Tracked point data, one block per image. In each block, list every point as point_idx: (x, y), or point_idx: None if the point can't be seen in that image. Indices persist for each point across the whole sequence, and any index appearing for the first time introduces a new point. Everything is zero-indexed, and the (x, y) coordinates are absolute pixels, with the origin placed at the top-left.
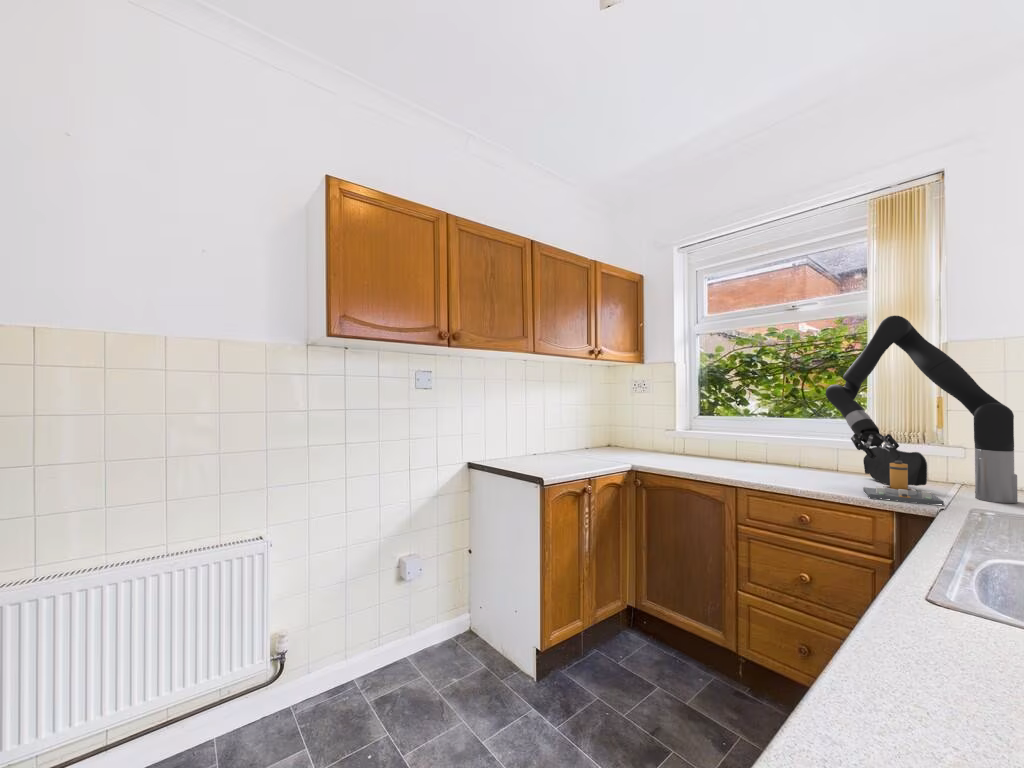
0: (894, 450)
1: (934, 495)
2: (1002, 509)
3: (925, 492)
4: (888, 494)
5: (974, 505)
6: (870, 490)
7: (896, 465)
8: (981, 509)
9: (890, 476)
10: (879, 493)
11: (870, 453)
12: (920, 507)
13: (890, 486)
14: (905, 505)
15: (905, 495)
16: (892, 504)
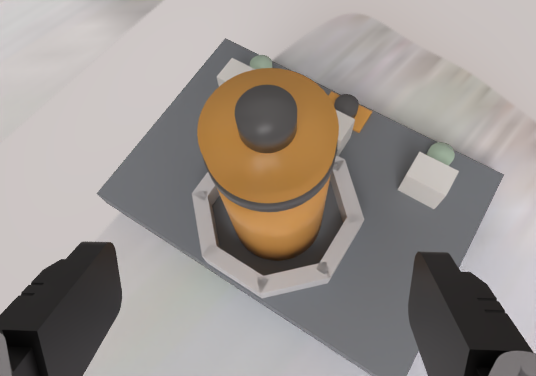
0: (57, 296)
1: (138, 146)
2: (34, 13)
3: (253, 69)
4: (392, 163)
5: (71, 66)
6: None
7: (323, 98)
8: (124, 10)
9: (326, 195)
10: (453, 157)
11: (483, 295)
12: (363, 28)
13: (320, 223)
14: (405, 56)
15: (349, 97)
16: (456, 70)
